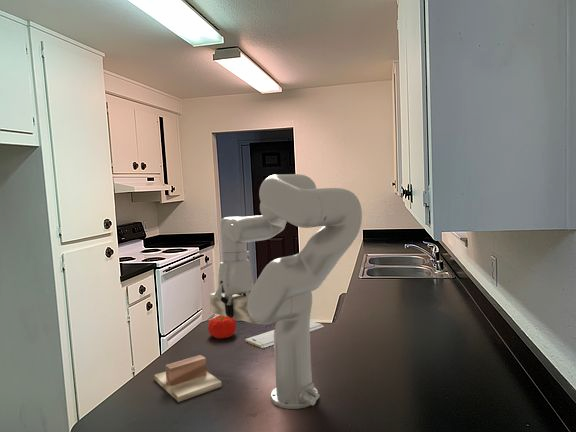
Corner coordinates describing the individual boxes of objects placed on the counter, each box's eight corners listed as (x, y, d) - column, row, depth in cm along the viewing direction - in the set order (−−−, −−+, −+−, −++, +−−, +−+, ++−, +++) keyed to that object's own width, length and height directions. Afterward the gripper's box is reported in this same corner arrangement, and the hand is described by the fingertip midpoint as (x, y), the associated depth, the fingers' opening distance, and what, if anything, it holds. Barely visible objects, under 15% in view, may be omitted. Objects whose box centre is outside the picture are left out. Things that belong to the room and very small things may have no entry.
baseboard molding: (327, 329, 168) (306, 323, 177) (326, 322, 167) (305, 316, 176) (265, 351, 147) (245, 343, 156) (265, 343, 147) (244, 335, 156)
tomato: (216, 330, 170) (215, 312, 169) (241, 332, 166) (240, 314, 166) (202, 340, 160) (201, 320, 159) (228, 342, 156) (227, 322, 156)
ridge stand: (221, 386, 121) (220, 364, 121) (178, 402, 113) (177, 378, 113) (194, 367, 135) (193, 347, 135) (154, 379, 128) (153, 358, 127)
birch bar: (267, 320, 126) (266, 300, 126) (256, 324, 123) (255, 303, 122) (221, 308, 141) (220, 291, 141) (210, 312, 138) (209, 294, 137)
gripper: (251, 252, 139) (254, 306, 140) (204, 259, 129) (207, 318, 130) (264, 254, 133) (267, 311, 134) (215, 262, 123) (219, 323, 124)
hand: (237, 314), depth 132 cm, fingers closed on birch bar, 5 cm apart
